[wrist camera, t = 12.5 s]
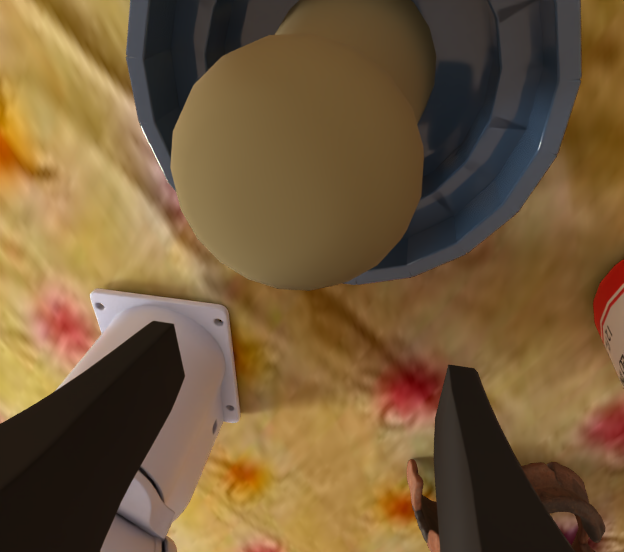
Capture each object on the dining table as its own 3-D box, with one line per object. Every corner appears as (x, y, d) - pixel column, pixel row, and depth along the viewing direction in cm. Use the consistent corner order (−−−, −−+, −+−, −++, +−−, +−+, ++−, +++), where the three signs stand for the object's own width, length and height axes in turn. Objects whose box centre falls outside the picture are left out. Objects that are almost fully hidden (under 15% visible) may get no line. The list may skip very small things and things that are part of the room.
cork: (428, -46, 15) (433, -26, 6) (442, 140, 18) (460, 327, 9) (251, -1, 17) (59, 67, 8) (293, 163, 20) (188, 340, 11)
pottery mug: (387, 422, 30) (454, 522, 22) (523, 382, 31) (631, 462, 23) (407, 569, 33) (471, 700, 25) (528, 527, 35) (623, 637, 27)
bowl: (495, 240, 21) (510, 304, 17) (207, 211, 23) (166, 262, 19) (606, -172, 13) (675, -214, 10) (158, -162, 15) (75, -194, 12)
